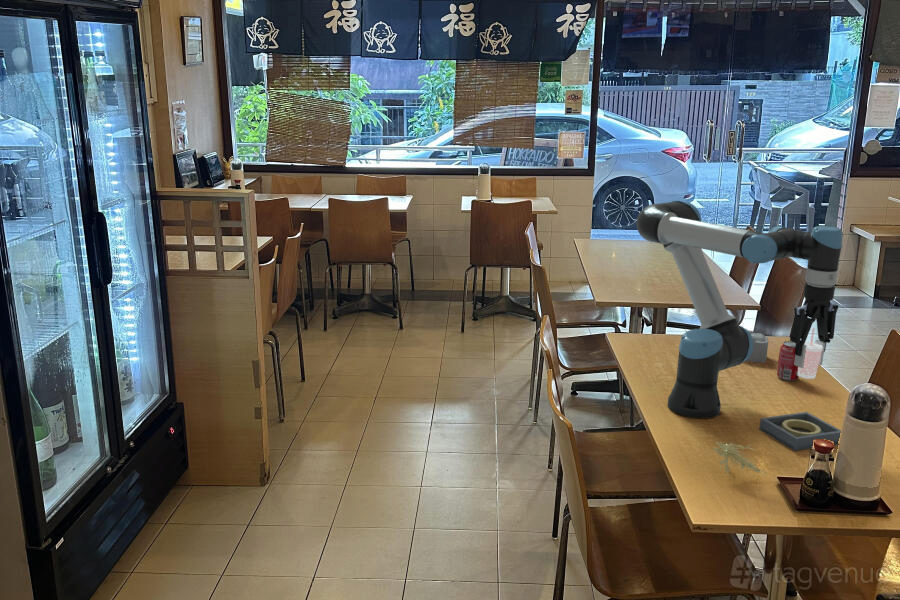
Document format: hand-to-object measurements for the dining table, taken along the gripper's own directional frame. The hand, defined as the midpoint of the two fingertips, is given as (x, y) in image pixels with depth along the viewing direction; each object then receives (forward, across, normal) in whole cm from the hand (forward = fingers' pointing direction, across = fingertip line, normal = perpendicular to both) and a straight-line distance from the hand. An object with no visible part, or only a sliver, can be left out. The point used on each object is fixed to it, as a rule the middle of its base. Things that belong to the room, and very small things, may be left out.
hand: (807, 364), depth 225 cm
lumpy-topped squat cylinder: (+19, +29, +53) cm, 64 cm away
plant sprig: (+19, -36, -16) cm, 44 cm away
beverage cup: (+4, 0, 0) cm, 4 cm away
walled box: (+19, -4, -5) cm, 20 cm away
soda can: (+19, +27, +32) cm, 46 cm away
